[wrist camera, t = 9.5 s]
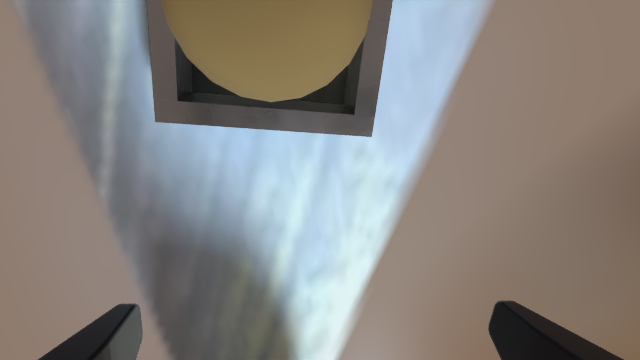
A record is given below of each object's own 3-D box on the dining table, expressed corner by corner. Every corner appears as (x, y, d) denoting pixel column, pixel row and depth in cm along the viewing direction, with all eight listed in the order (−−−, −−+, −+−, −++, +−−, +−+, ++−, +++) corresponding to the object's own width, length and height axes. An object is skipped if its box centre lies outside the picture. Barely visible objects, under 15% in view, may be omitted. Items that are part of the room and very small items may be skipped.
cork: (352, -22, 17) (460, -114, 7) (310, 97, 19) (348, 161, 9) (229, -77, 16) (141, -293, 6) (198, 57, 18) (88, 78, 7)
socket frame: (358, 123, 20) (371, 136, 17) (173, 109, 18) (155, 121, 16) (388, -90, 16) (410, -116, 13) (161, -127, 15) (134, -165, 12)
